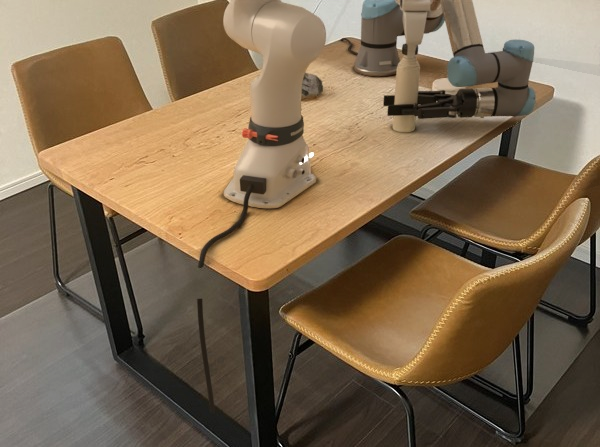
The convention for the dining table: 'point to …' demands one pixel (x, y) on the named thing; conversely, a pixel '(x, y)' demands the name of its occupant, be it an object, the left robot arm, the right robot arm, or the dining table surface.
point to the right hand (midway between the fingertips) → (386, 105)
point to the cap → (405, 48)
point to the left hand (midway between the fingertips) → (409, 52)
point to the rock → (311, 86)
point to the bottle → (406, 92)
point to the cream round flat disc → (445, 86)
